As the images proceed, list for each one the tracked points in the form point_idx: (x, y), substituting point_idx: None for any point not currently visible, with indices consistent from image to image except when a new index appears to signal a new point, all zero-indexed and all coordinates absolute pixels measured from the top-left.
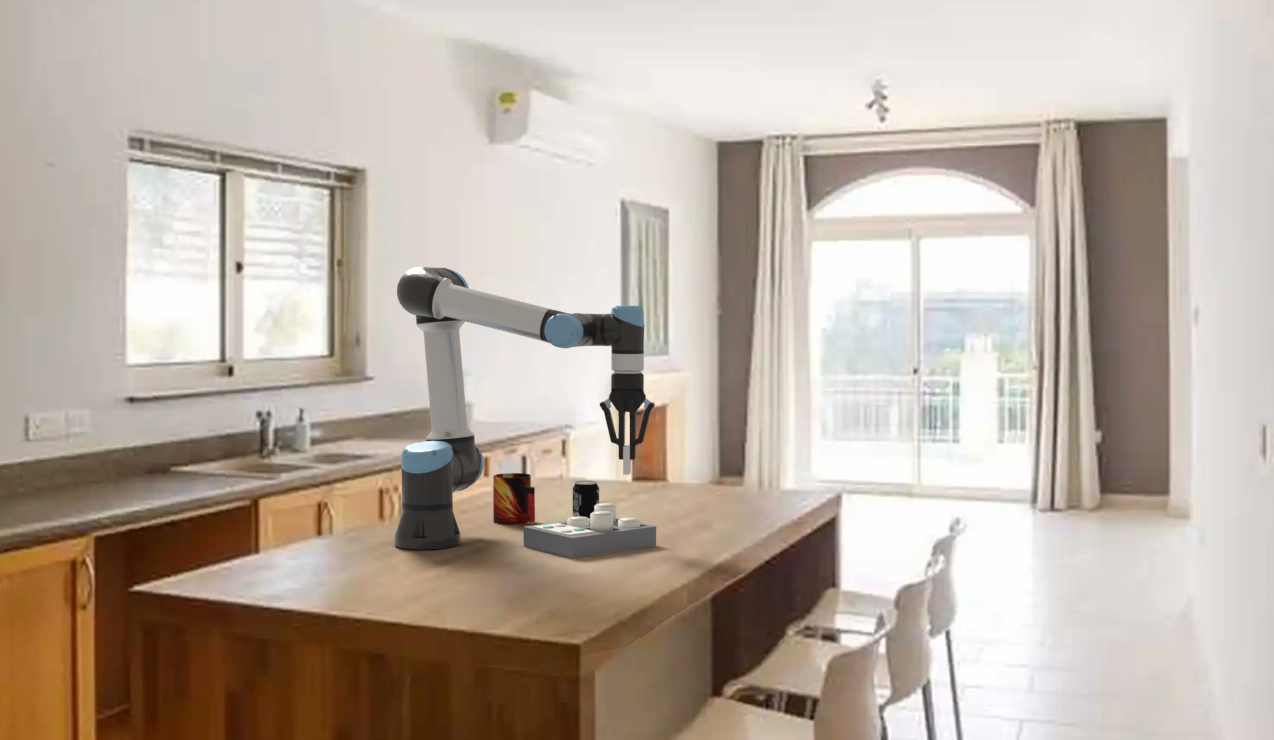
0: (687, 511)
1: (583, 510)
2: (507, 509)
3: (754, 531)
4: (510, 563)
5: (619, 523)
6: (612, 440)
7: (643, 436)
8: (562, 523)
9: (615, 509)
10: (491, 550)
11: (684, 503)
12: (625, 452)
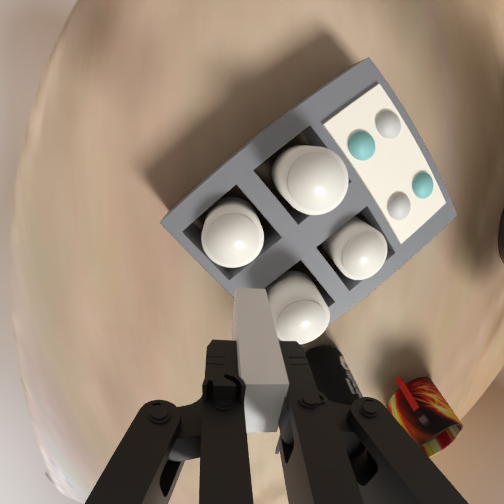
0: None
1: (337, 370)
2: (431, 391)
3: (34, 350)
4: (441, 50)
5: (258, 220)
6: (375, 406)
7: (123, 439)
8: (389, 257)
9: (273, 309)
10: (473, 169)
11: (181, 493)
12: (267, 357)
